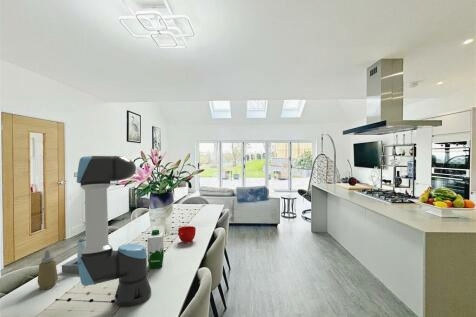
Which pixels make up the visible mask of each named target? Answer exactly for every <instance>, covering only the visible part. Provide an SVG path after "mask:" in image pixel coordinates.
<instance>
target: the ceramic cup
mask: <svg viewBox="0 0 476 317" xmlns="http://www.w3.org/2000/svg"><path fill="white" fill-rule="evenodd" d="M196 230H197V229H196V227H195V226H192V225H191V226H190V225H186V226H181V227H178V229H177V234H178V239H180V241H181V243H183V242H184V243H183V244H189V243H188V242H190V243H192V242H193V240H194V239H195V237H196ZM191 241H192V242H191Z"/></svg>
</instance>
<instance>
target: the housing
mask: <svg viewBox="0 0 476 317" xmlns="http://www.w3.org/2000/svg"><path fill="white" fill-rule="evenodd" d="M113 251H116V250H114V249H113ZM61 273H62V274H63V273H65V274H67V273H68V274H69V273H70V274H79V268H78V264H77V257H76V258H72V260H69V261H67V262H66V263H63V264H62V265H61Z"/></svg>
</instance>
